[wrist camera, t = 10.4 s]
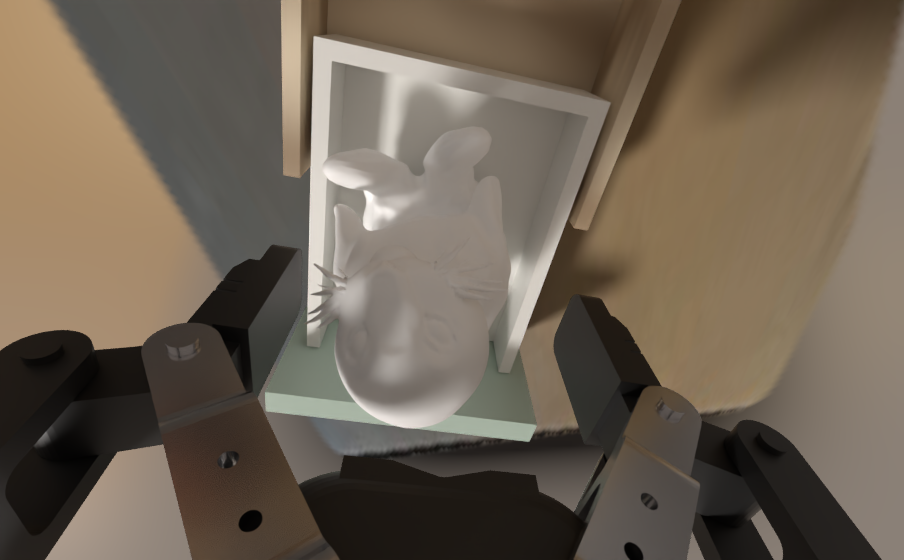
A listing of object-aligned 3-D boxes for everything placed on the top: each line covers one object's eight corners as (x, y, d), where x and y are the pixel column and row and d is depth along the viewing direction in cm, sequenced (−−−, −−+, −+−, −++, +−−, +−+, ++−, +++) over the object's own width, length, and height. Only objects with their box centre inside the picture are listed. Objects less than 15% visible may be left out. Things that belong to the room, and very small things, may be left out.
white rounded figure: (389, 301, 22) (341, 548, 11) (335, 136, 17) (179, 300, 7) (509, 281, 21) (570, 521, 11) (485, 106, 17) (552, 234, 7)
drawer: (510, 352, 25) (529, 441, 19) (305, 323, 23) (265, 411, 18) (604, 94, 17) (675, 125, 12) (312, 28, 16) (246, 30, 11)
